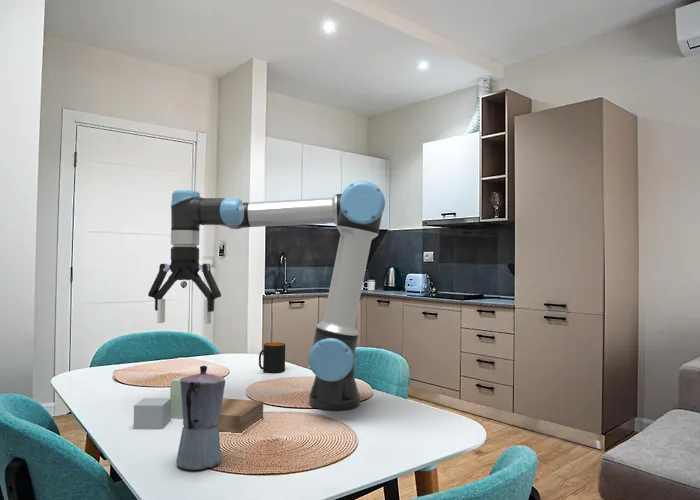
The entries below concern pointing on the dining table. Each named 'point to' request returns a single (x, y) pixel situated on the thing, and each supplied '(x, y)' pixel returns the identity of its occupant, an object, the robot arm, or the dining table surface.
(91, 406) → the dining table surface
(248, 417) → the walnut block
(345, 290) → the robot arm
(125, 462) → the dining table surface
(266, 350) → the mug
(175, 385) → the sage block
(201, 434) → the moka pot
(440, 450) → the dining table surface
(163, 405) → the slate block
